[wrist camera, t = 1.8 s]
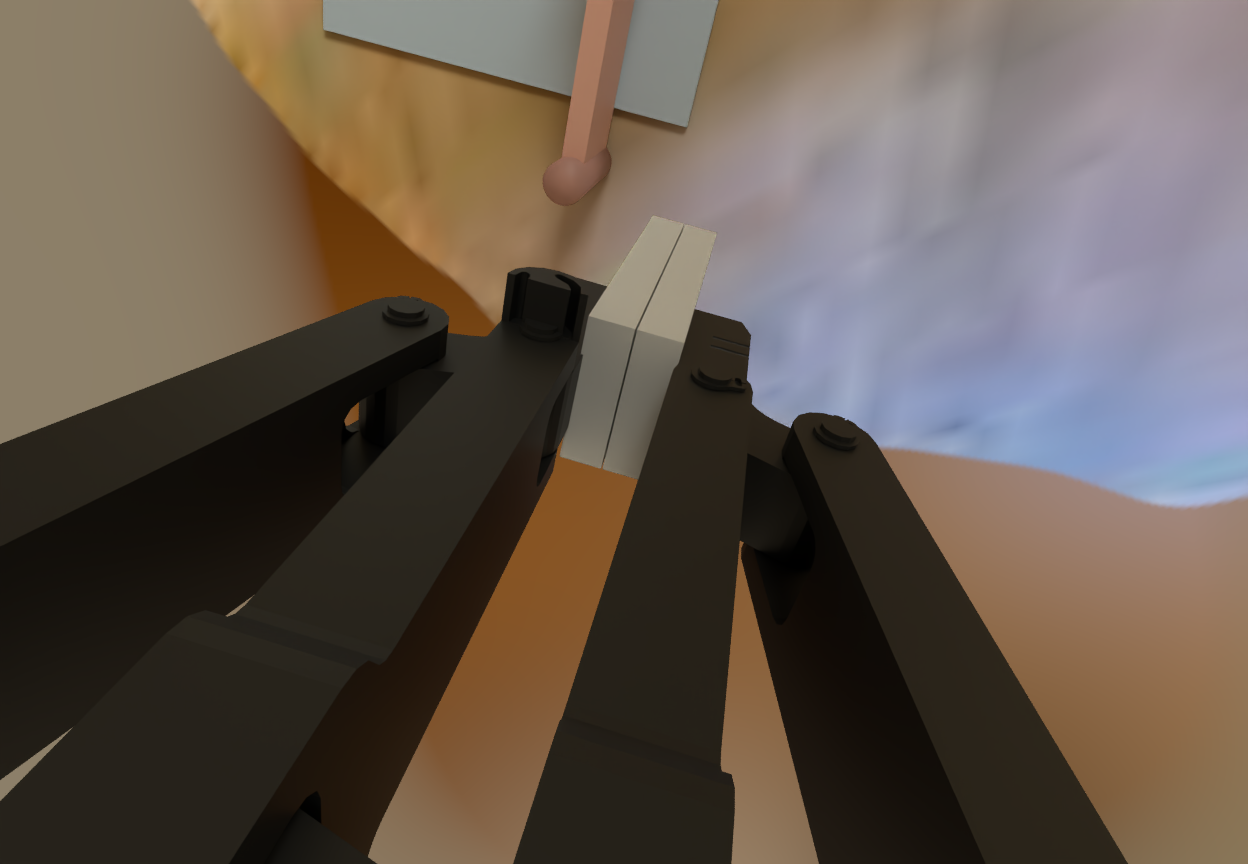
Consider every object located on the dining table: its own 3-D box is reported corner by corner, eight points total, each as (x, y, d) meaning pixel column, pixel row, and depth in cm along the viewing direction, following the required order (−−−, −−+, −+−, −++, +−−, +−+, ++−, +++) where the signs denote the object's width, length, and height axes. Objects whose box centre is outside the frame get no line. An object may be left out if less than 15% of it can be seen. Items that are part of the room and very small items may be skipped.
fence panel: (616, -80, 29) (584, -98, 25) (657, -70, 29) (634, -85, 25) (572, 174, 35) (539, 199, 30) (607, 184, 35) (580, 210, 30)
